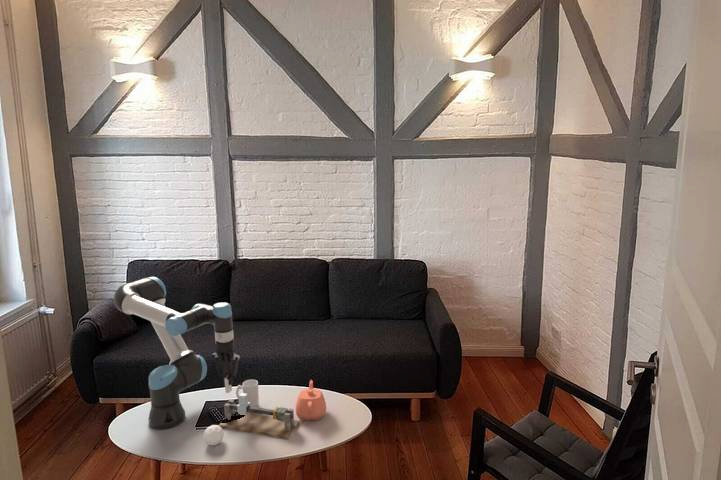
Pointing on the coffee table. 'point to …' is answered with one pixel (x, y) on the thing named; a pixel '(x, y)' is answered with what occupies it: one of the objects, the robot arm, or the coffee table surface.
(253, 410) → the din rail terminal board
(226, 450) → the coffee table surface
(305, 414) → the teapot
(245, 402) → the white stepped block
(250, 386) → the mug
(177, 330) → the robot arm
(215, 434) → the geometric ball
